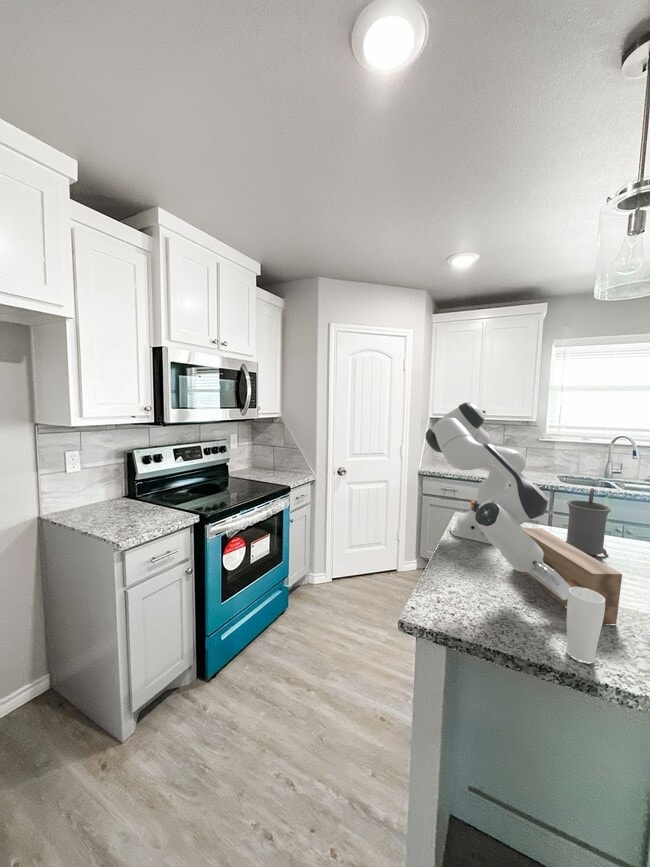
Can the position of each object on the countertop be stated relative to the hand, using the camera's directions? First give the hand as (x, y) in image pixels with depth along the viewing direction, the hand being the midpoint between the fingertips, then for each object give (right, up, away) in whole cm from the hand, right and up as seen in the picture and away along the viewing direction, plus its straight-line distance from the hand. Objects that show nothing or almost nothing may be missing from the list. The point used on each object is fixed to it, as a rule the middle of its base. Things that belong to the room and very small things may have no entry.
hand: (555, 589), depth 98 cm
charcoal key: (+3, 0, +12) cm, 13 cm away
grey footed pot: (+38, -5, +43) cm, 58 cm away
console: (+9, -6, +13) cm, 17 cm away
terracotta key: (+3, -2, 0) cm, 4 cm away
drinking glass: (-5, -9, -16) cm, 19 cm away
